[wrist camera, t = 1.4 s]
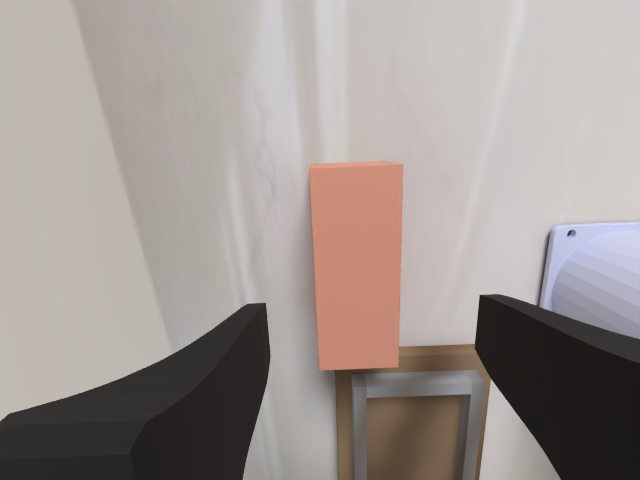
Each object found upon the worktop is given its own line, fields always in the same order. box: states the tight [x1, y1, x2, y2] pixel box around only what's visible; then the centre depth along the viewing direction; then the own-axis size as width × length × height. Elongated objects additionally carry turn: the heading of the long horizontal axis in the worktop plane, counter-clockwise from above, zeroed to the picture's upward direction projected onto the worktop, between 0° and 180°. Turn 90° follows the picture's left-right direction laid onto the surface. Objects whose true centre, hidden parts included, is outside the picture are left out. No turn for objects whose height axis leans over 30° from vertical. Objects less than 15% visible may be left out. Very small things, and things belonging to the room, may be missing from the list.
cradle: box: [335, 344, 491, 480], centre depth 23 cm, size 10×16×2 cm, turn 2°
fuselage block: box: [309, 161, 403, 371], centre depth 18 cm, size 4×10×5 cm, turn 2°
